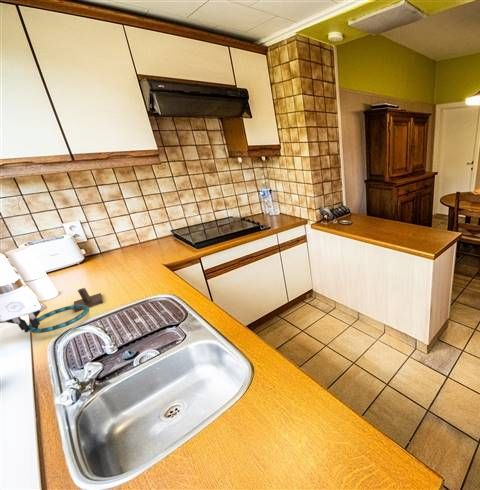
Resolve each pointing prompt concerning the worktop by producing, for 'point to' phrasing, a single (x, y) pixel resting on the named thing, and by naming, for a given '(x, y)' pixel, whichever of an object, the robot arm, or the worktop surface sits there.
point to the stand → (88, 299)
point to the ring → (42, 330)
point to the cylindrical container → (32, 272)
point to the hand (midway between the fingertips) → (32, 328)
